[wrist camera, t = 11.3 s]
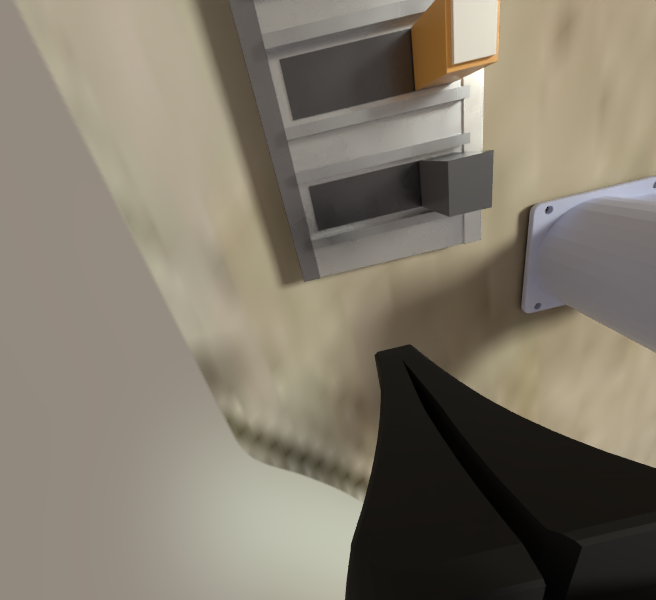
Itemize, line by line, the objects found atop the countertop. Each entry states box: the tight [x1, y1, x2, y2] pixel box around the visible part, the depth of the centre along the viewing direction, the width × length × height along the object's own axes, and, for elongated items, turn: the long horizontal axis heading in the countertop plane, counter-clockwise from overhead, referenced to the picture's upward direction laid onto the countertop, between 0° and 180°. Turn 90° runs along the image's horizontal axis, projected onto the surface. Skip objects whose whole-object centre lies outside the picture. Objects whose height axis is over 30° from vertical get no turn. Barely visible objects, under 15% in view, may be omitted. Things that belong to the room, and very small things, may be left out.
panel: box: [229, 0, 484, 282], centre depth 14 cm, size 11×19×2 cm, turn 12°
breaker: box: [419, 150, 494, 217], centre depth 15 cm, size 2×2×3 cm
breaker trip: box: [411, 0, 500, 91], centre depth 12 cm, size 2×2×4 cm
